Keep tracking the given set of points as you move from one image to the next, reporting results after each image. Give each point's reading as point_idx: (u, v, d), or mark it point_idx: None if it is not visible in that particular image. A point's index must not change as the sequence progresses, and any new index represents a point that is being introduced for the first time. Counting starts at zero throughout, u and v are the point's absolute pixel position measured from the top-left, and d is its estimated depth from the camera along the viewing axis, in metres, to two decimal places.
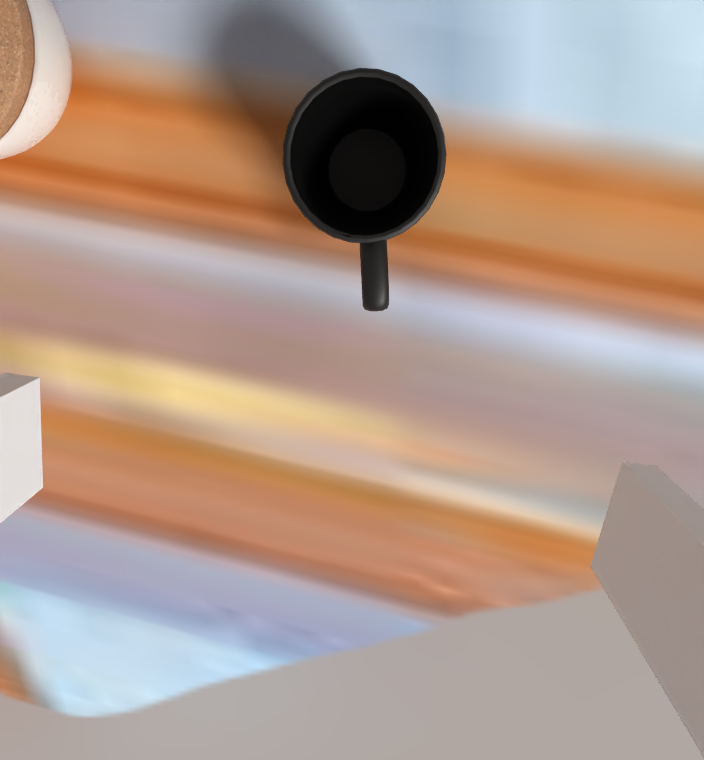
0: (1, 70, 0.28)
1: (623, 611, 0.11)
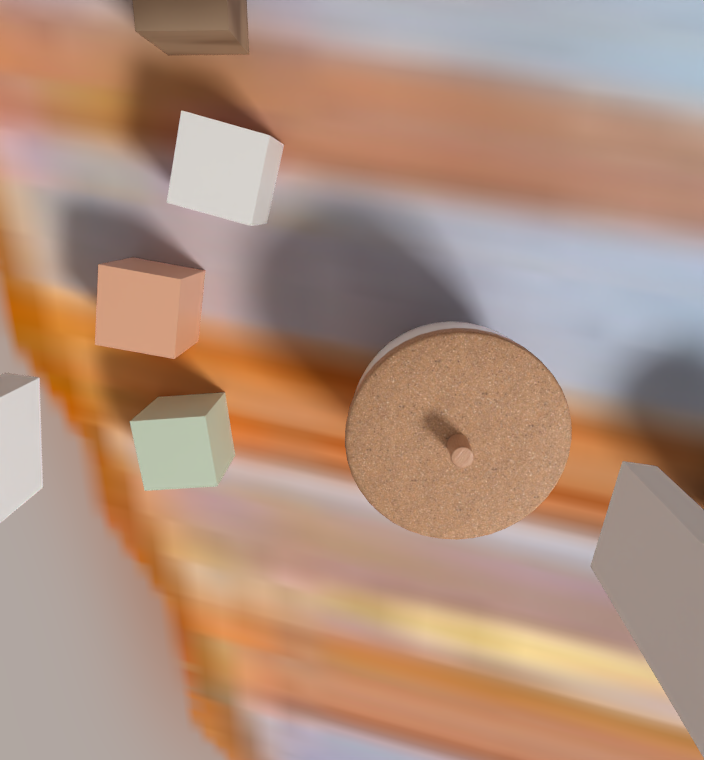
0: (543, 482, 0.32)
1: (623, 611, 0.11)
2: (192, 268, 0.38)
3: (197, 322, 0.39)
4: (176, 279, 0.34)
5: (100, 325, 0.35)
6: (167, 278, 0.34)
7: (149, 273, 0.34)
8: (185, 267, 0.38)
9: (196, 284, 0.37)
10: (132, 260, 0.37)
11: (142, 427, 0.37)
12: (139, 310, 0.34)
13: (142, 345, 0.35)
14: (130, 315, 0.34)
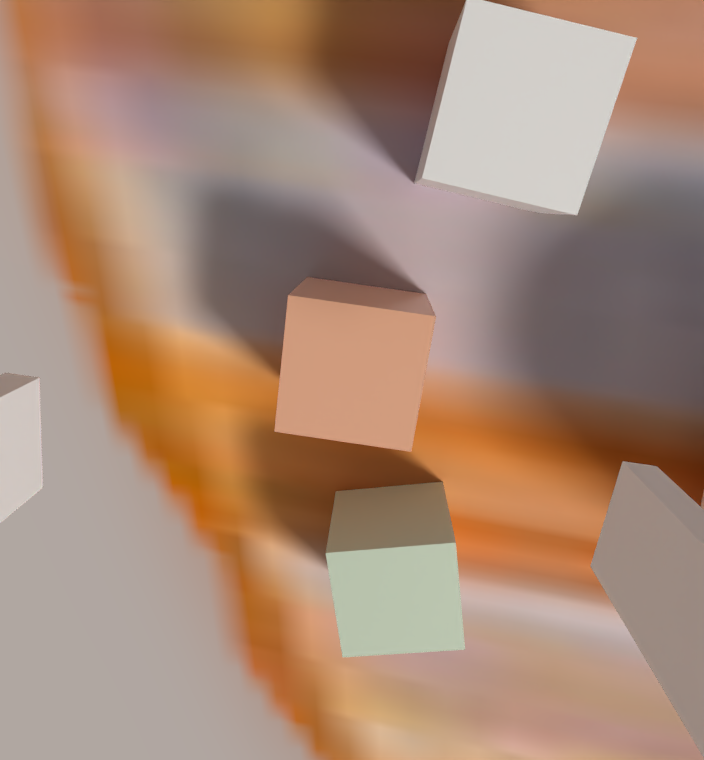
0: None
1: (623, 611, 0.11)
2: (406, 291, 0.23)
3: None
4: (427, 316, 0.19)
5: (285, 399, 0.20)
6: (411, 315, 0.19)
7: (378, 307, 0.19)
8: (395, 290, 0.23)
9: None
10: (316, 283, 0.22)
11: (346, 562, 0.22)
12: (355, 371, 0.20)
13: (357, 430, 0.20)
14: (339, 380, 0.20)
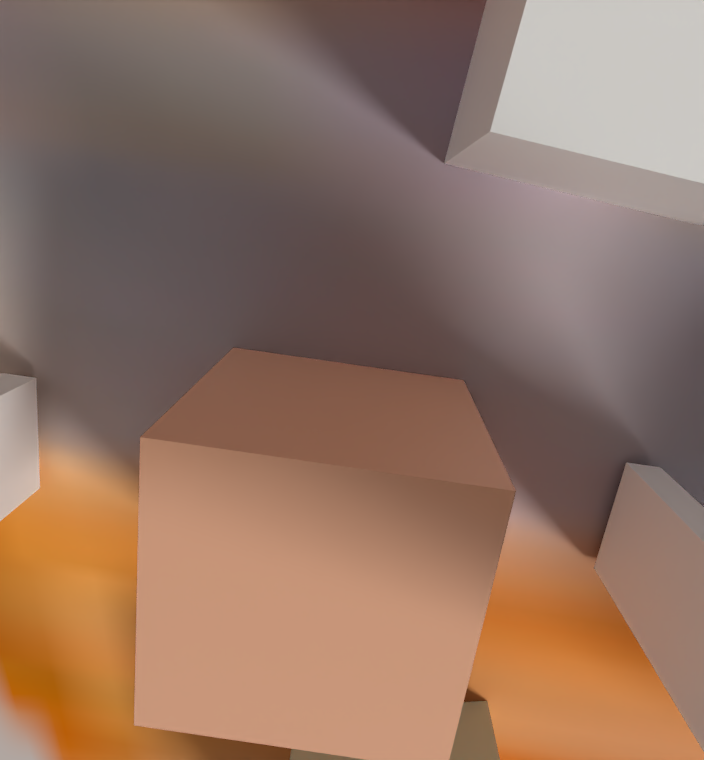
0: None
1: (627, 613, 0.11)
2: (425, 376, 0.12)
3: None
4: (493, 490, 0.07)
5: (153, 663, 0.09)
6: (453, 488, 0.07)
7: (368, 466, 0.08)
8: (404, 375, 0.12)
9: None
10: (244, 368, 0.11)
11: None
12: (316, 610, 0.08)
13: (323, 728, 0.09)
14: (276, 628, 0.08)
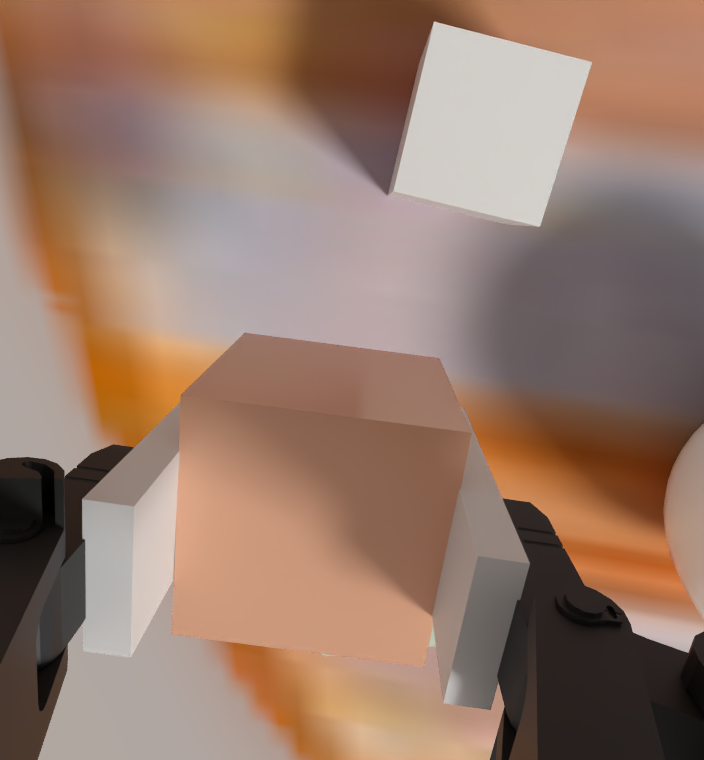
0: None
1: None
2: (407, 356, 0.14)
3: None
4: (454, 433, 0.10)
5: (188, 580, 0.11)
6: (423, 431, 0.10)
7: (358, 416, 0.10)
8: (389, 354, 0.14)
9: None
10: (255, 349, 0.13)
11: None
12: (318, 532, 0.10)
13: (324, 632, 0.11)
14: (287, 548, 0.10)
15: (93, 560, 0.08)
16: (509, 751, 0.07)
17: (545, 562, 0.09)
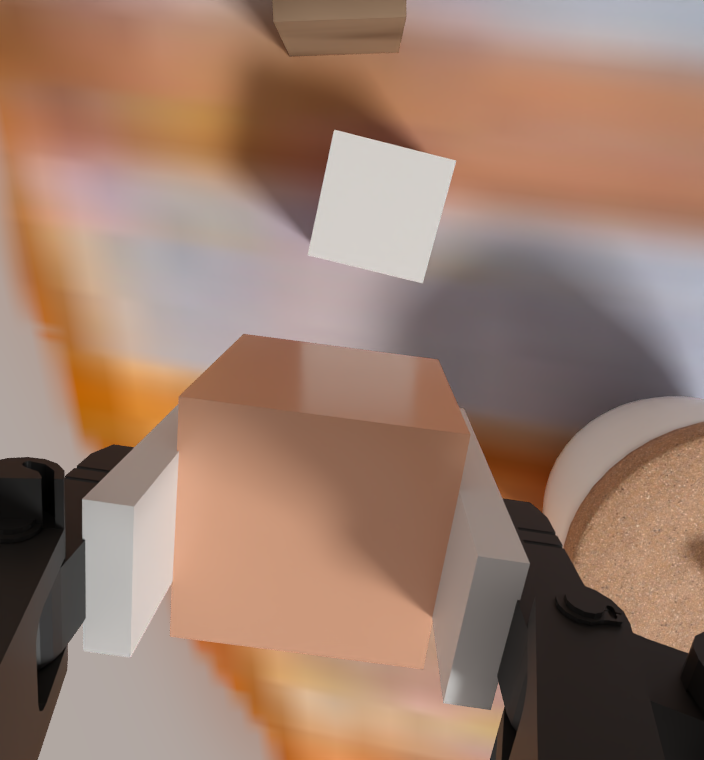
0: None
1: None
2: (406, 357, 0.14)
3: None
4: (453, 434, 0.10)
5: (186, 582, 0.11)
6: (422, 433, 0.10)
7: (356, 417, 0.10)
8: (388, 356, 0.14)
9: None
10: (254, 350, 0.13)
11: None
12: (317, 535, 0.10)
13: (323, 634, 0.11)
14: (285, 549, 0.10)
15: (93, 560, 0.08)
16: (509, 751, 0.07)
17: (545, 563, 0.09)
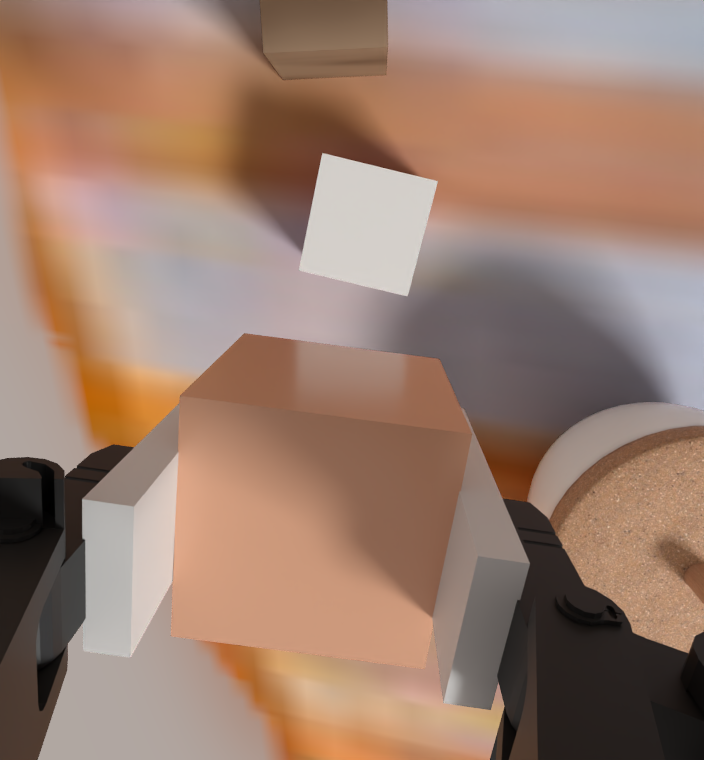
0: None
1: None
2: (407, 356, 0.14)
3: None
4: (455, 434, 0.10)
5: (187, 582, 0.11)
6: (424, 432, 0.10)
7: (358, 417, 0.10)
8: (389, 355, 0.14)
9: None
10: (255, 349, 0.13)
11: None
12: (317, 534, 0.10)
13: (324, 634, 0.11)
14: (286, 549, 0.10)
15: (93, 560, 0.08)
16: (509, 751, 0.07)
17: (545, 562, 0.09)
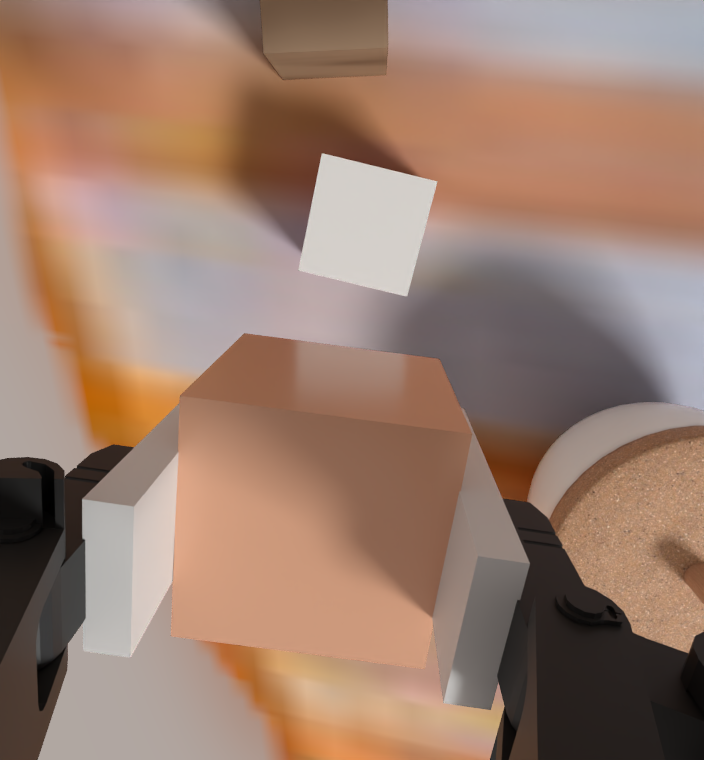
0: None
1: None
2: (407, 356, 0.14)
3: None
4: (455, 434, 0.10)
5: (187, 582, 0.11)
6: (424, 432, 0.10)
7: (358, 417, 0.10)
8: (389, 355, 0.14)
9: None
10: (255, 349, 0.13)
11: None
12: (317, 534, 0.10)
13: (324, 634, 0.11)
14: (286, 549, 0.10)
15: (93, 560, 0.08)
16: (509, 751, 0.07)
17: (545, 562, 0.09)
